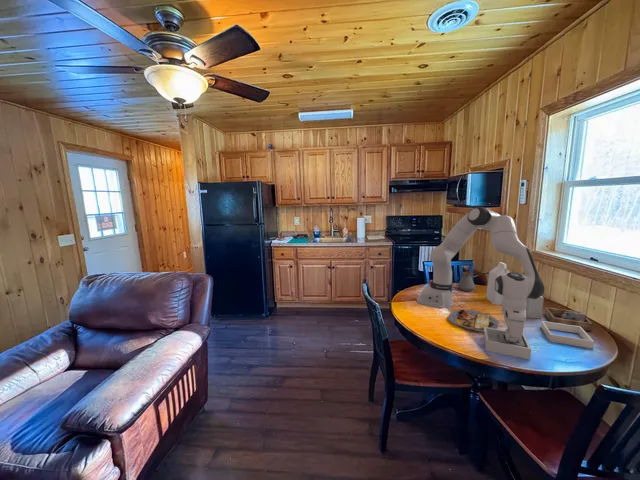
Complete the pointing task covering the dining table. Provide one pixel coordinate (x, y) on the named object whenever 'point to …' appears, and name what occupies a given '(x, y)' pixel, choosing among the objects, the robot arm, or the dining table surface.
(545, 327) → the open square frame
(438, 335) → the dining table surface
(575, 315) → the mineral specimen
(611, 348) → the dining table surface
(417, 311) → the dining table surface
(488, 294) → the milk
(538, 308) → the supplement box
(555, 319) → the stand rim
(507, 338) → the connector
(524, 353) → the walled box
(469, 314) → the food plate
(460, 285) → the coffee pot
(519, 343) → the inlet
